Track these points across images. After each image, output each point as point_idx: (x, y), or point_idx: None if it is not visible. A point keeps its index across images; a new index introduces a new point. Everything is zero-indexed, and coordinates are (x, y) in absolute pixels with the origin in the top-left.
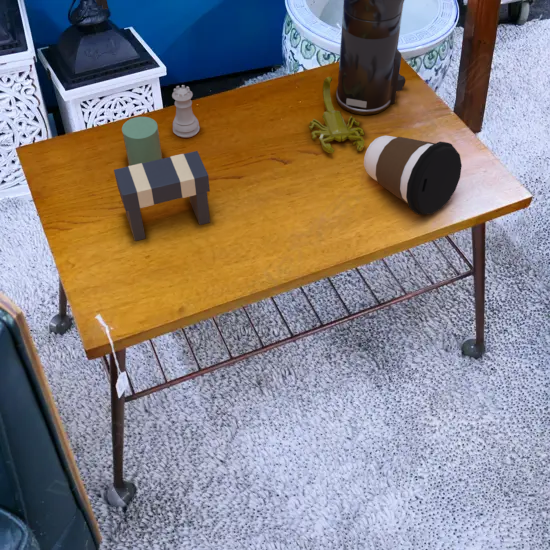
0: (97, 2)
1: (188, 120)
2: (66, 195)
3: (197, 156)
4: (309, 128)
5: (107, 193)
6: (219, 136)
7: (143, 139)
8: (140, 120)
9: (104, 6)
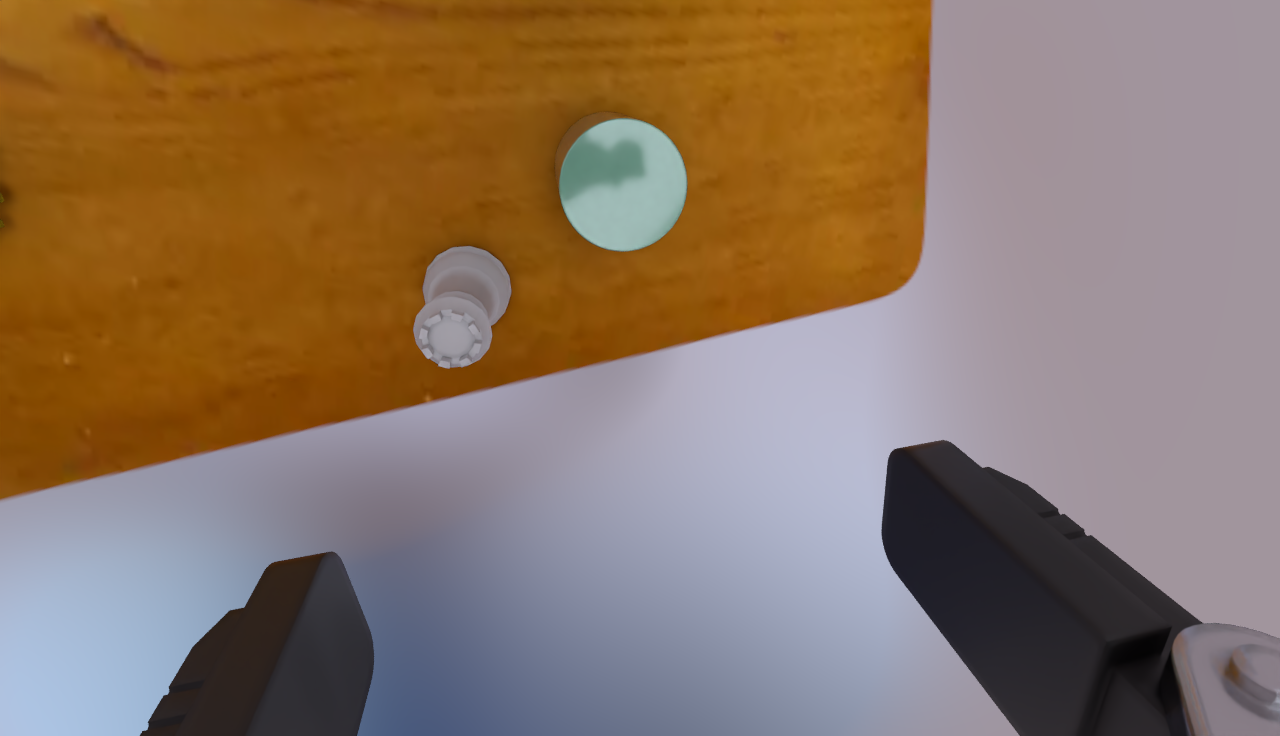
0: (1014, 489)
1: (451, 276)
2: (854, 59)
3: None
4: (1, 194)
5: (740, 33)
6: (361, 236)
7: (618, 118)
8: (617, 228)
9: (942, 453)
